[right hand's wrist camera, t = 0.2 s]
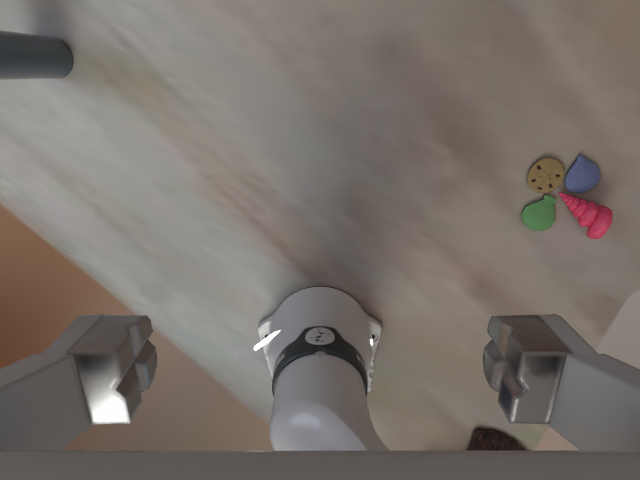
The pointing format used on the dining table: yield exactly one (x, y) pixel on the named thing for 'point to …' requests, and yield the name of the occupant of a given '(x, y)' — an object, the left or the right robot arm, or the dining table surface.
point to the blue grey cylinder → (33, 56)
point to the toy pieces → (566, 196)
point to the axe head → (492, 442)
